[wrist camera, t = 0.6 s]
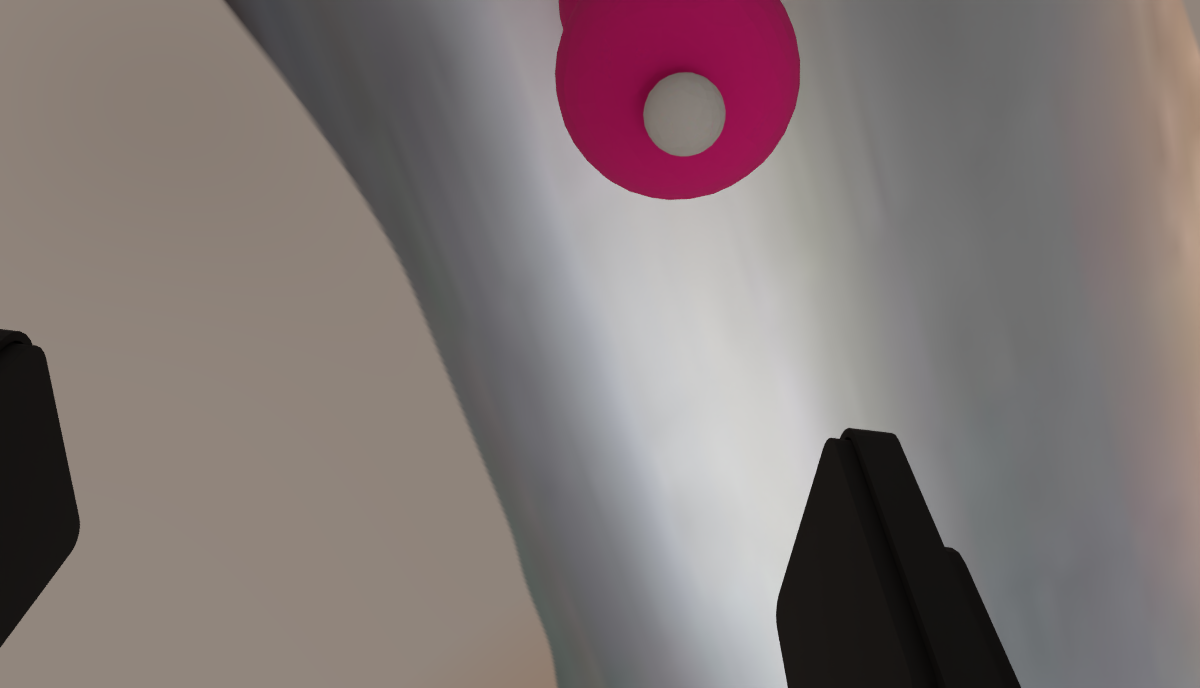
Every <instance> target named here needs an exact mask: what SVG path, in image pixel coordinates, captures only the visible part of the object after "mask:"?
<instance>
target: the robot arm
mask: <svg viewBox="0 0 1200 688" xmlns="http://www.w3.org/2000/svg"><path fill="white" fill-rule="evenodd" d="M79 529H80V521H79V515H78V509H77V505H76V500H75V495H74V490H73V485H72V481H71V476H70V471H69V466H68V461H67V457H66V452H65V447H64V442H63V437H62V432H61V428H60V423H59V418H58V413H57V409H56V404H55V399H54V394H53V389H52V384H51V380H50V375H49V370H48V365H47V361H46V357H45V354H44V352H43V351H42V349H41V348H40V347H38V346H35V345H32V343H31V340H30V339H29V338H28V336H27V335H26V334H24V333H22V332H20V331H12V330H3V329H0V647H1V646H2V645H3V643H4V642H5V640H6V639H7V638H8V636H9V635H10V634H11V632H12V631H13V630H14V628H15V627H16V626H17V624H18V623H19V622H20V620H21V619H22V618H23V616H24V615H25V614H26V612H27V611H28V610H29V608H30V607H31V605H32V604H33V603H34V601H35V600H36V599H37V597H38V596H39V595H40V593H41V592H42V591H43V589H44V588H45V587H46V585H47V584H48V583H49V581H50V580H51V579H52V577H53V576H54V575H55V573H56V572H57V570H58V569H59V568H60V566H61V565H62V564H63V562H64V561H65V560H66V558H67V557H68V556H69V554H70V553H71V551H72V550H73V548H74V546H75V544H76V541H77V539H78V534H79ZM776 623H777V630H778V636H779V641H780V646H781V652H782V657H783V663H784V668H785V674H786V679H787V685H788V688H1021V686H1020V684H1019V682H1018V680H1017V677H1016V675H1015V673H1014V671H1013V669H1012V666H1011V664H1010V662H1009V660H1008V657H1007V655H1006V653H1005V651H1004V648H1003V646H1002V644H1001V642H1000V639H999V637H998V635H997V633H996V631H995V628H994V626H993V624H992V622H991V619H990V617H989V615H988V613H987V610H986V608H985V606H984V604H983V601H982V599H981V597H980V595H979V593H978V590H977V588H976V586H975V584H974V581H973V579H972V577H971V575H970V572H969V570H968V568H967V566H966V564H965V562H964V560H963V558H962V557H961V555H960V554H959V552H957V551H956V550H954V549H953V548H949V547H944V544H943V542H942V540H941V537H940V535H939V533H938V530H937V528H936V526H935V523H934V521H933V519H932V516H931V514H930V512H929V510H928V507H927V505H926V503H925V500H924V498H923V496H922V493H921V491H920V489H919V486H918V484H917V482H916V479H915V477H914V475H913V472H912V470H911V468H910V465H909V463H908V461H907V458H906V456H905V454H904V451H903V449H902V447H901V444H900V442H899V440H898V438H897V437H896V435H895V434H893V433H887V432H878V431H870V430H861V429H853V428H848V429H846V430H845V431H844V432H843V433H842V435H841V437H840V439H836V438H829V439H828V440H827V441H826V443H825V445H824V448H823V451H822V454H821V458H820V461H819V464H818V467H817V471H816V474H815V477H814V481H813V484H812V487H811V490H810V494H809V497H808V500H807V504H806V507H805V510H804V514H803V517H802V520H801V523H800V527H799V530H798V533H797V537H796V540H795V543H794V546H793V550H792V553H791V556H790V560H789V563H788V566H787V570H786V573H785V576H784V579H783V583H782V586H781V589H780V593H779V596H778V601H777V610H776Z"/></svg>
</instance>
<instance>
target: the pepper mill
mask: <svg viewBox="0 0 1200 688" xmlns="http://www.w3.org/2000/svg"><path fill="white" fill-rule="evenodd" d="M559 11H560V19H561V22H562V26H563V33H562V36H561V40H560V44H559V47H558V51H557V59H556V70H555V77H556V92H557V97H558V102H559V106H560V110H561V113H562V117H563V120H564V124H565V126H566V128H567V130H568V132H569V134H570V136H571V138H572V140H573V142H574V144H575V145H576V146H577V148H578V149H579V150H580V152H581V153H582V154H583V156H584V157H585V158H586V160H587V161H588V162H589V163H590V164H592V165H593V166H594V167H595V168H596V169H597V170H598V171H599V172H600V173H601V174H602V175H603V176H605V177H606V178H607V179H609V180H610V181H612V182H613V183H615V184H617V185H619V186H621V187H623V188H625V189H627V190H628V191H631V192H634V193H638V194H641V195H645V196H648V197H652V198H659V199H667V200H674V199H691V198H696V197H701V196H705V195H710V194H714V193H716V192H718V191H720V190H723V189H725V188H727V187H729V186H732V185H733V184H735V183H736V182H738V181H739V180H741V179H743V178H744V177H746V176H747V175H749V174H750V173H751V172H752V171H753V170H755V169H756V168H757V167H758V166H759V165H761V164H762V163H763V162H764V161H765V160H766V159H767V157H768V156H769V155H770V154H771V153H772V151H773V150H774V148H775V147H776V145H777V144H778V142H779V141H780V139H781V138H782V136H783V135H784V133H785V131H786V129H787V126H788V124H789V122H790V119H791V117H792V114H793V112H794V110H795V106H796V101H797V96H798V91H799V86H800V58H799V52H798V47H797V41H796V36H795V33H794V29H793V26H792V24H791V21H790V19H789V17H788V14H787V12H786V10H785V8H784V6H783V4H782V3H781V1H780V0H559Z"/></svg>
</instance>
